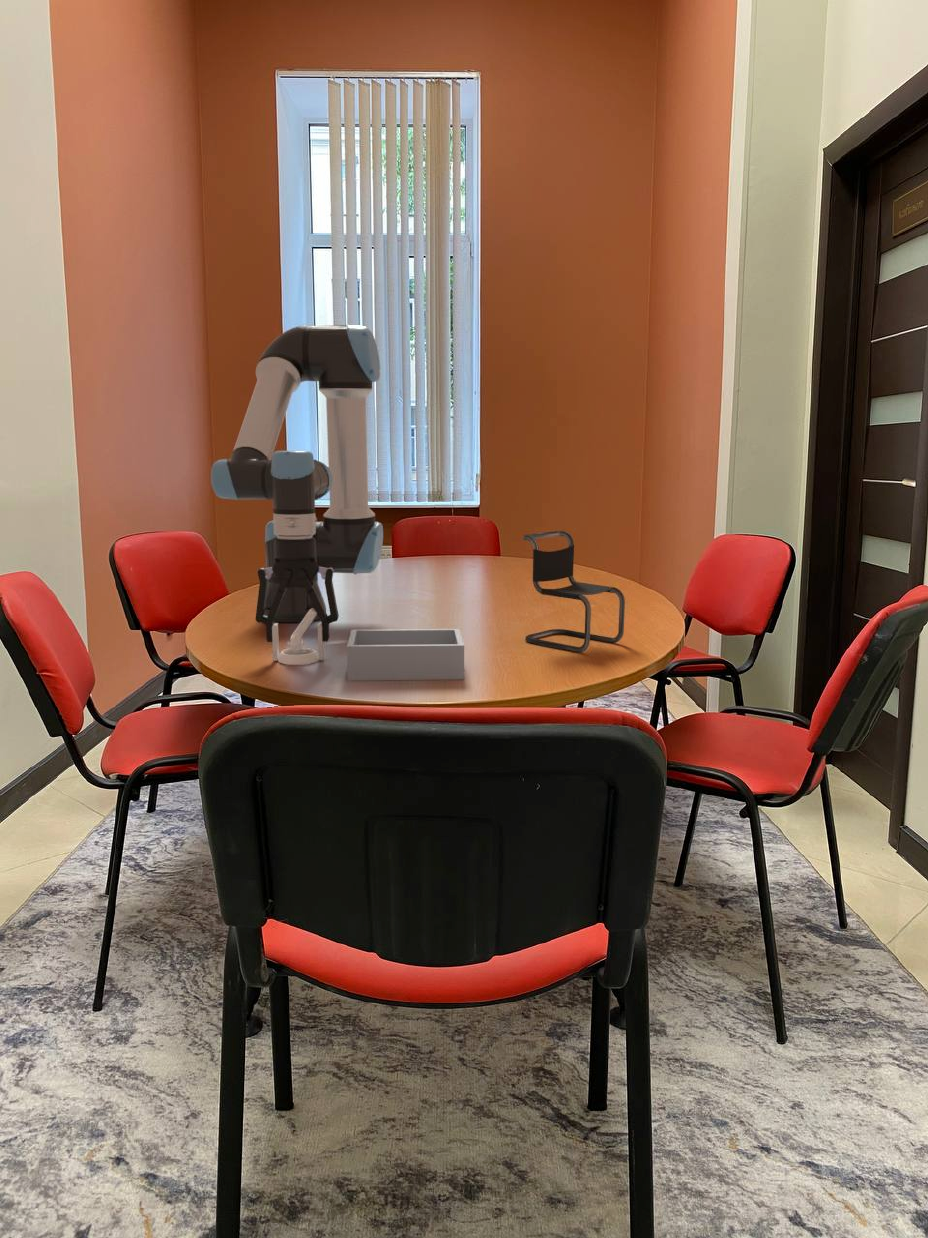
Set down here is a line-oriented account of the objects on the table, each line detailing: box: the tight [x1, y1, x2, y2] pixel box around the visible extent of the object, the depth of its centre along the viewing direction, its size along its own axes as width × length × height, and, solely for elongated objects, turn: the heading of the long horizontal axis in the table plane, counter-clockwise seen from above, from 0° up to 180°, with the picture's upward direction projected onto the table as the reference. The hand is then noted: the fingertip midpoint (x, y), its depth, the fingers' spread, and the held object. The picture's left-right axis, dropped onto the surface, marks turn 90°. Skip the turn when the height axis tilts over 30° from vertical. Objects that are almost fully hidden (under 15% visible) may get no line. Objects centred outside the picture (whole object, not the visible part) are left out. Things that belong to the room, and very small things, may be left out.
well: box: [346, 628, 465, 682], centre depth 162 cm, size 14×20×6 cm
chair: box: [523, 530, 626, 653], centre depth 184 cm, size 13×17×22 cm
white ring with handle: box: [277, 608, 320, 666], centre depth 168 cm, size 8×12×7 cm
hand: (298, 658), depth 169 cm, fingers closed on white ring with handle, 8 cm apart
